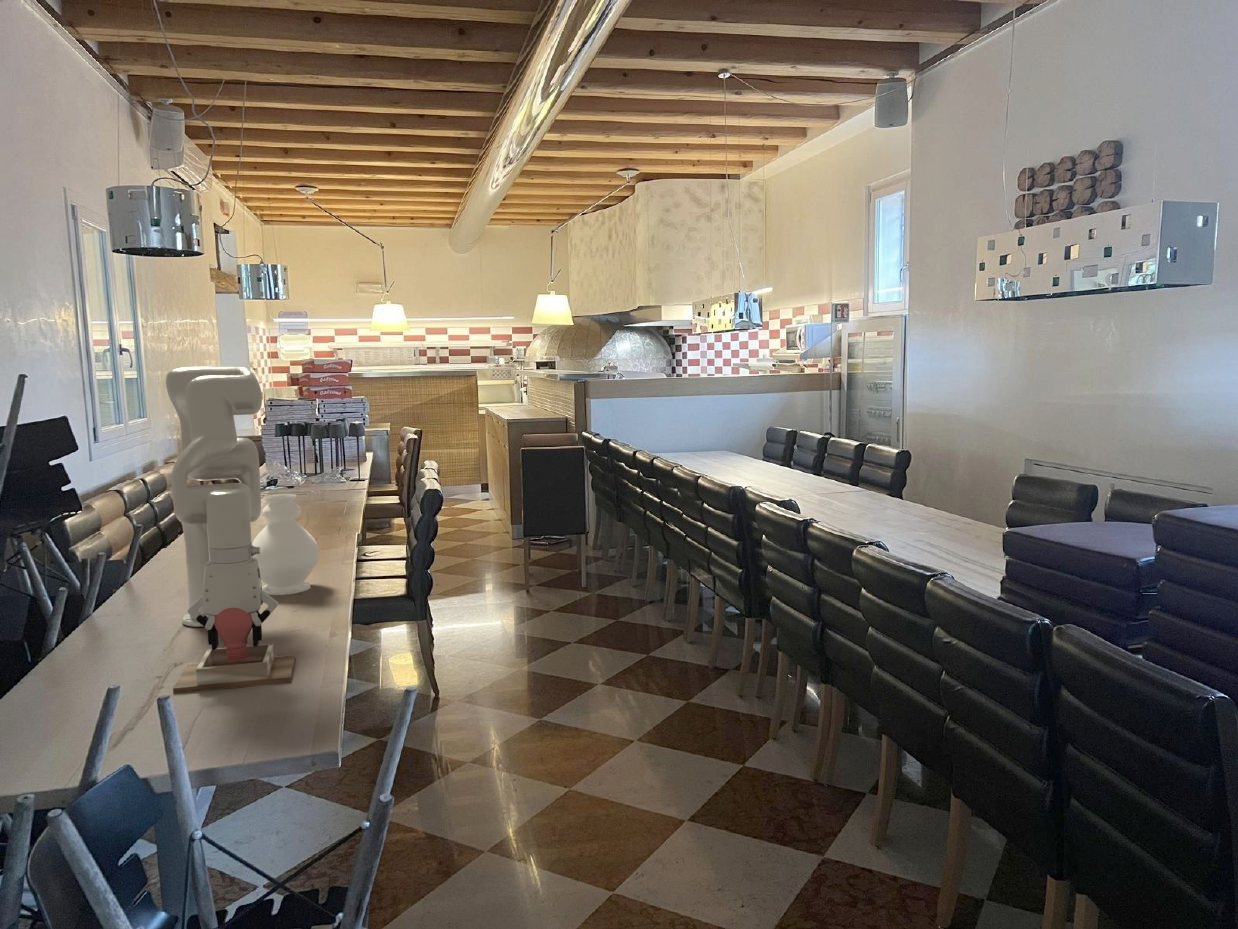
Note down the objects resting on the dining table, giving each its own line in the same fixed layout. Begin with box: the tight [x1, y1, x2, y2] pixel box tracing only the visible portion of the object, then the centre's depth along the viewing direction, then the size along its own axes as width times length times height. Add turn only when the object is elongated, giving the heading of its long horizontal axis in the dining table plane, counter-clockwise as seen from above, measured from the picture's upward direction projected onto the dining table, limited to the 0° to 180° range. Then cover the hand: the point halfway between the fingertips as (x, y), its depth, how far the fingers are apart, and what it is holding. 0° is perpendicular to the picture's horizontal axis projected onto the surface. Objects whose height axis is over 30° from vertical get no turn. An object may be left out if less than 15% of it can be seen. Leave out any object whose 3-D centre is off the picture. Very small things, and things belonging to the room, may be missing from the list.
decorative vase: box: [251, 493, 321, 596], centre depth 233 cm, size 18×18×25 cm
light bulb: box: [214, 608, 254, 662], centre depth 168 cm, size 7×7×12 cm
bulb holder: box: [172, 643, 297, 695], centre depth 169 cm, size 13×20×4 cm, turn 106°
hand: (235, 645), depth 169 cm, fingers closed on light bulb, 6 cm apart
